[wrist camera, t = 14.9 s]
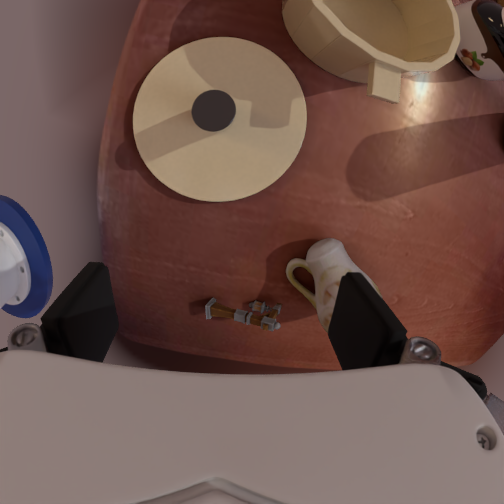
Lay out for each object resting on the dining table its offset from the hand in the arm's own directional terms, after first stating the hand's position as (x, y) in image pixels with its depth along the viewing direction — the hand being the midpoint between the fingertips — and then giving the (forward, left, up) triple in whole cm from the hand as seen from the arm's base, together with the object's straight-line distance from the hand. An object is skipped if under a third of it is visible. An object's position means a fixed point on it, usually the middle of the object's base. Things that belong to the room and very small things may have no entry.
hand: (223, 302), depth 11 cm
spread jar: (+28, +26, -18) cm, 42 cm away
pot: (+10, +21, -17) cm, 29 cm away
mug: (+12, -7, -18) cm, 22 cm away
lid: (-2, +8, -17) cm, 19 cm away
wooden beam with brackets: (+2, -11, -18) cm, 21 cm away
